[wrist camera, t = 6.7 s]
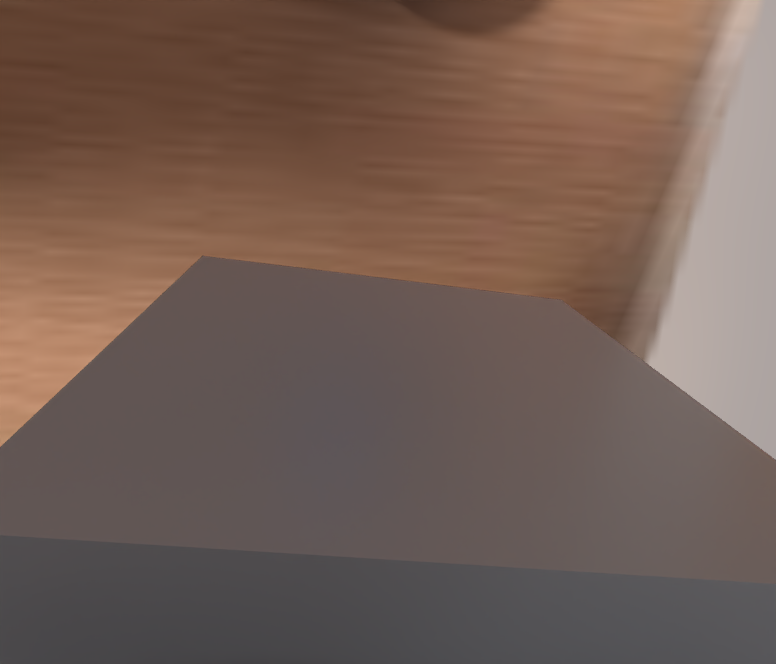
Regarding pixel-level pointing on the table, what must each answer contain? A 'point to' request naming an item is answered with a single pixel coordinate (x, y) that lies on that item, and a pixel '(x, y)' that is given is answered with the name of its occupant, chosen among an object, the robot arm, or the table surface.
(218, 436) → the gray foam cube
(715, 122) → the table surface
